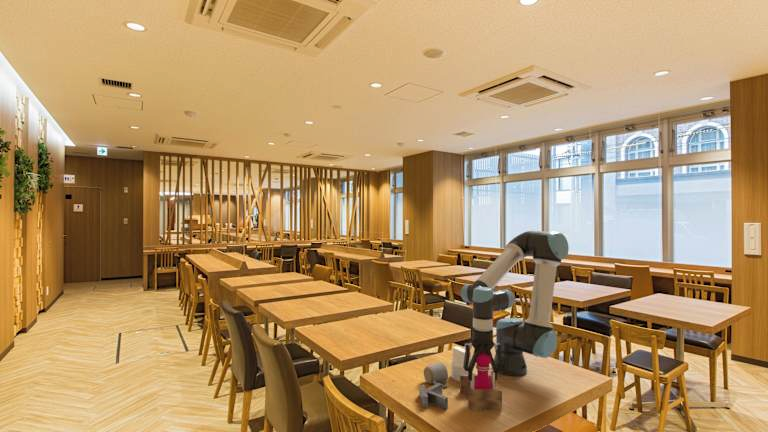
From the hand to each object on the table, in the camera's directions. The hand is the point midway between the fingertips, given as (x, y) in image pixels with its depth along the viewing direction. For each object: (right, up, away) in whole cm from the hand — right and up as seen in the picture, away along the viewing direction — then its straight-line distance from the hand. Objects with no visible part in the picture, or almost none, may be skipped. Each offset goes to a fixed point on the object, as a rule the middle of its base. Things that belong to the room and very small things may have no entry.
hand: (482, 388), depth 151 cm
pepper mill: (0, -5, 0) cm, 5 cm away
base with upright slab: (-4, -5, +22) cm, 23 cm away
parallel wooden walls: (-1, -5, 0) cm, 5 cm away
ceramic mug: (-15, -5, +16) cm, 22 cm away
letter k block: (-18, -5, -1) cm, 19 cm away
